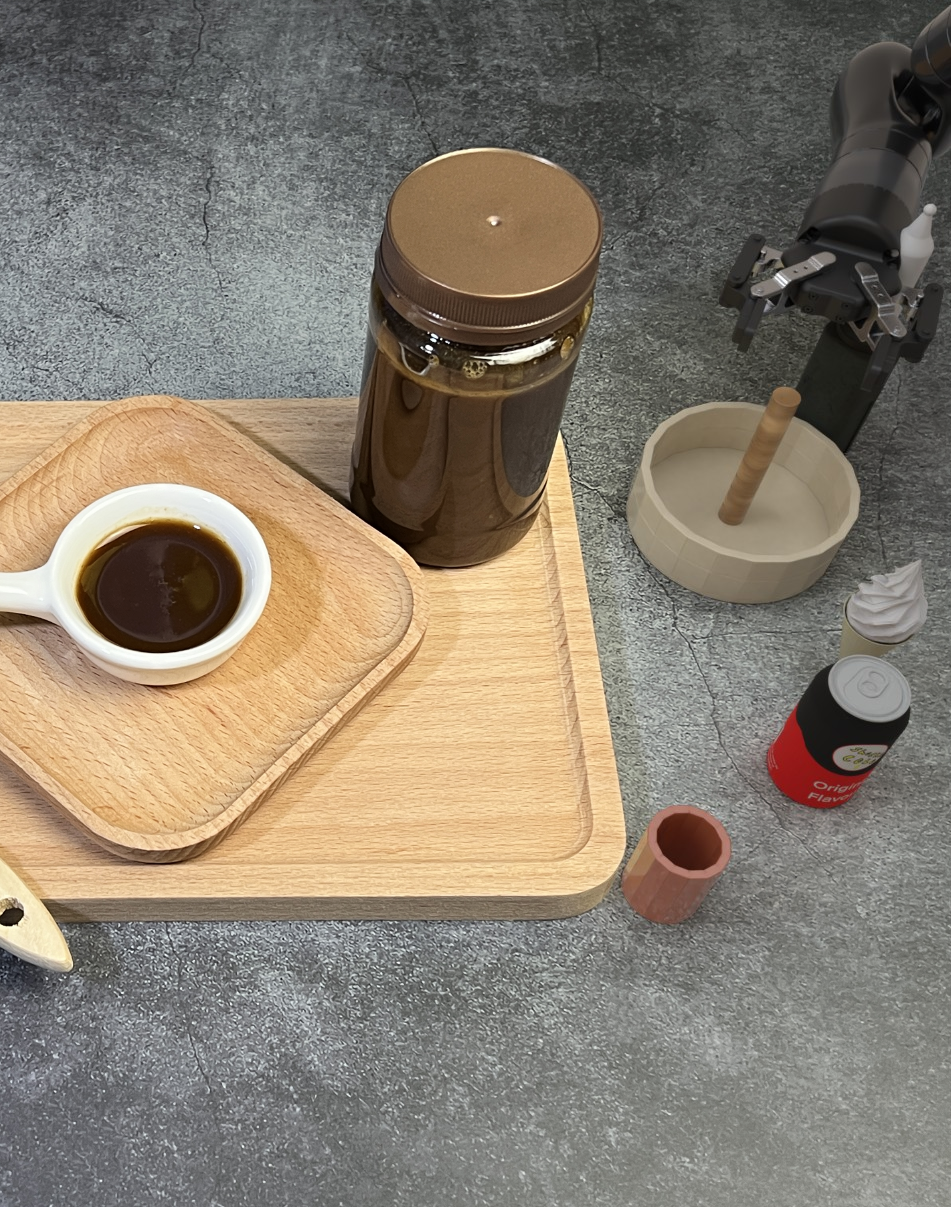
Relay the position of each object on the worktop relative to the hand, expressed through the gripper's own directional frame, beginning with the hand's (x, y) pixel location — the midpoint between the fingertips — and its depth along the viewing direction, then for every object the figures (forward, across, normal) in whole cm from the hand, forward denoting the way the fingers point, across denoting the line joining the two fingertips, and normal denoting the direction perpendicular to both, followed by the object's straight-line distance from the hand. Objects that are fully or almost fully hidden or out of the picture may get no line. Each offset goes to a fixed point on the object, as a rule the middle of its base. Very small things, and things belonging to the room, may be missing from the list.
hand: (807, 362), depth 99 cm
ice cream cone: (+9, +11, +20) cm, 25 cm away
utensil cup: (+32, +4, +20) cm, 38 cm away
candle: (-13, +4, +20) cm, 24 cm away
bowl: (-2, 0, +20) cm, 20 cm away
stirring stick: (-2, 0, +19) cm, 20 cm away
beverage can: (+18, +11, +20) cm, 30 cm away
